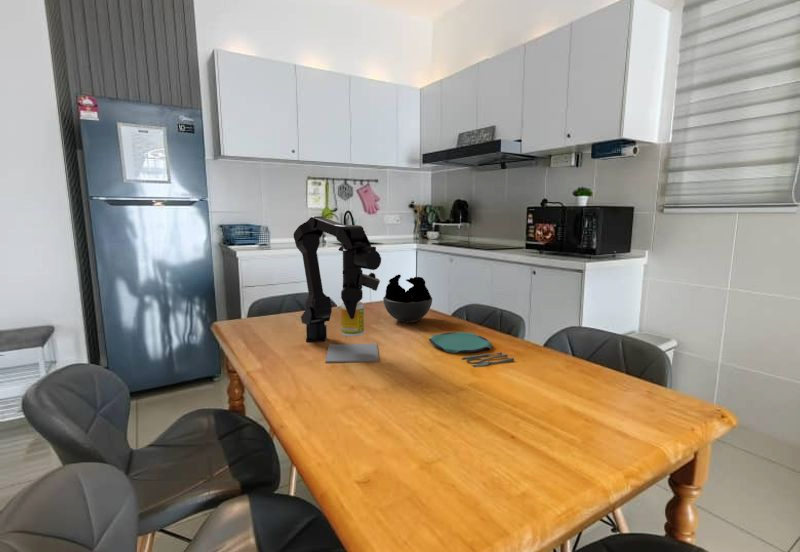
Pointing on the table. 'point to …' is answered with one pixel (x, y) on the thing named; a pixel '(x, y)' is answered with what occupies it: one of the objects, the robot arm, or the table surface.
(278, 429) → the table surface
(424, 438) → the table surface
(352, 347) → the grey mat
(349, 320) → the supplement bottle
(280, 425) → the table surface
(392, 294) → the coal bowl
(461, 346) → the cutlery set
